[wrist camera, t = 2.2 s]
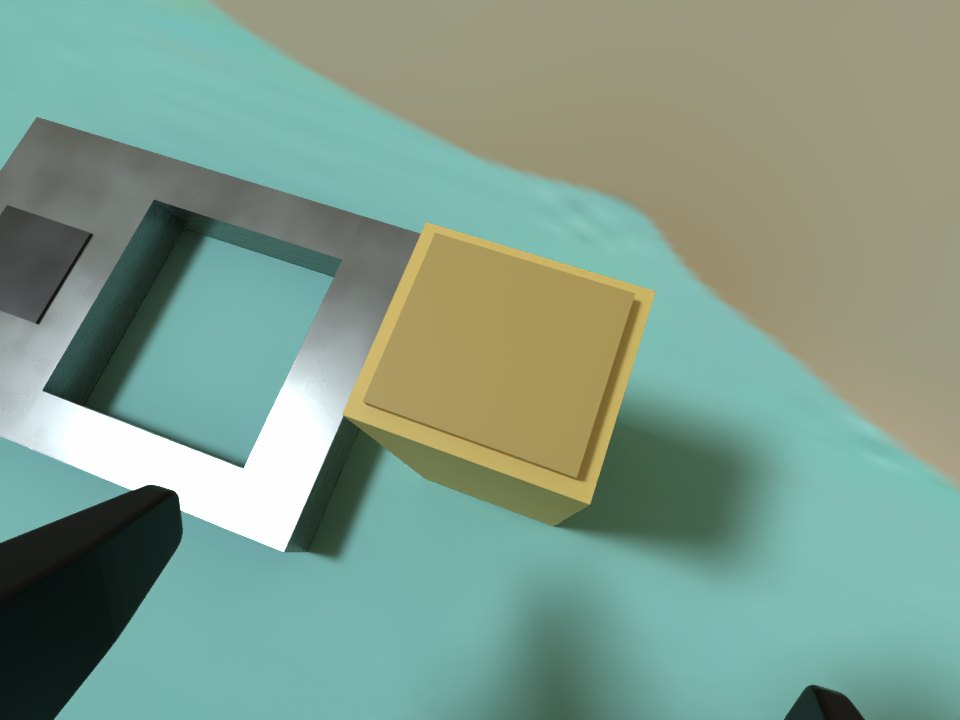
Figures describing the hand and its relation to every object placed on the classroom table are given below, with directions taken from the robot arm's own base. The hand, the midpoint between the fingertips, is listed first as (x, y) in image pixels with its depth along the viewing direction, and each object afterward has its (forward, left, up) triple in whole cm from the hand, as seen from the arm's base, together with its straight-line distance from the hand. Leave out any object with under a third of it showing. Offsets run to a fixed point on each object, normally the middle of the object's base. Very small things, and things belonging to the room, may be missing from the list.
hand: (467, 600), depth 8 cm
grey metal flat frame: (+4, +14, -11) cm, 18 cm away
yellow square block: (+4, +1, -11) cm, 12 cm away
